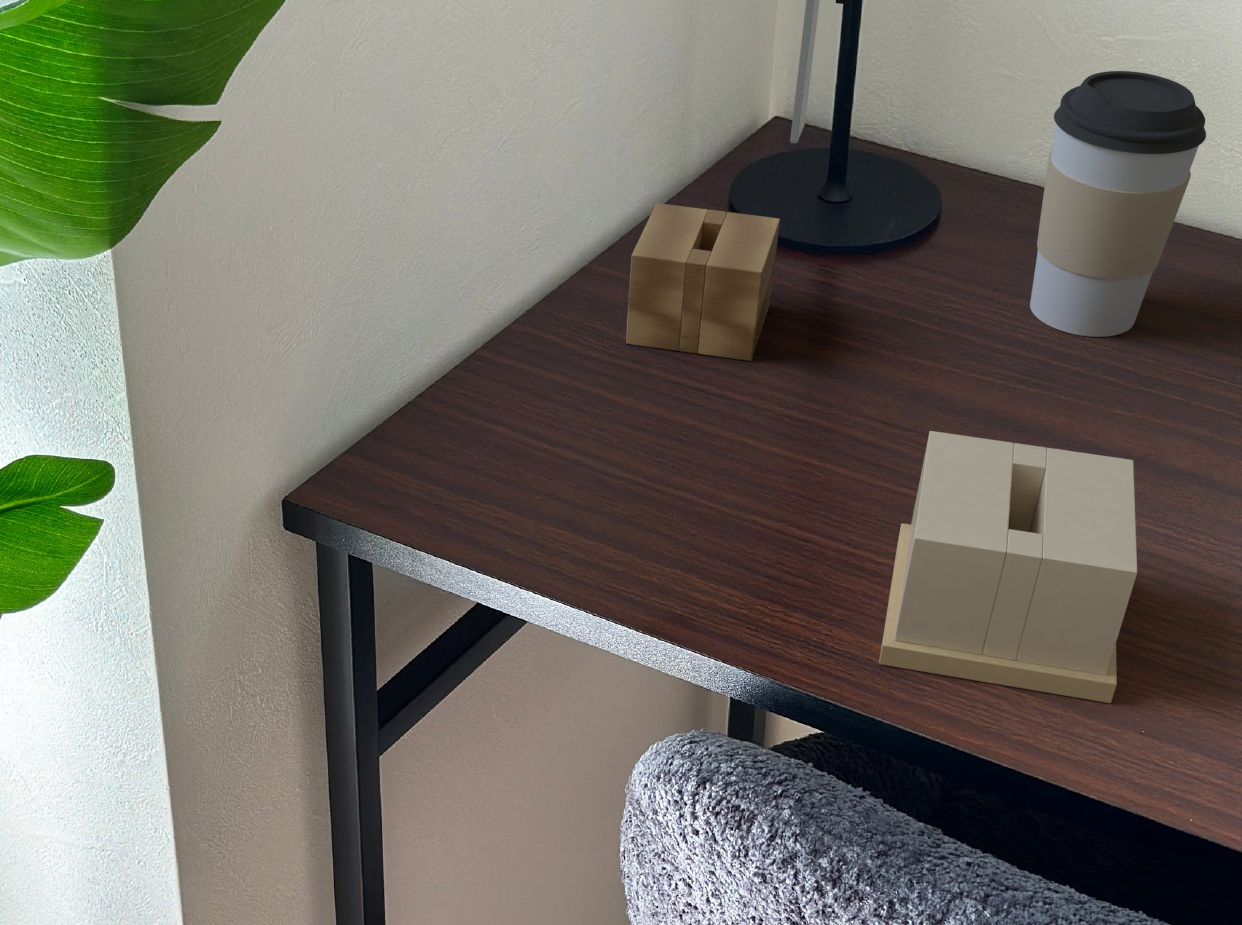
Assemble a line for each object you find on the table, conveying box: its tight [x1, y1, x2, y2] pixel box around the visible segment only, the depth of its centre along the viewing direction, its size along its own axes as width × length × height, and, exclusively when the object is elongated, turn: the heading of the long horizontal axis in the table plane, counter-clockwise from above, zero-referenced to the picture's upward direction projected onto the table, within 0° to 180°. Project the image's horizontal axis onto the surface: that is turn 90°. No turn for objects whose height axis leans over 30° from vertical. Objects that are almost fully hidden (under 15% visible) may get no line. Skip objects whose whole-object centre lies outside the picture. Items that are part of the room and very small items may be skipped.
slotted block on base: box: [878, 430, 1138, 704], centre depth 84 cm, size 11×11×7 cm
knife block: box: [625, 202, 781, 362], centre depth 108 cm, size 8×8×6 cm
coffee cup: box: [1029, 70, 1207, 338], centre depth 108 cm, size 9×9×15 cm
